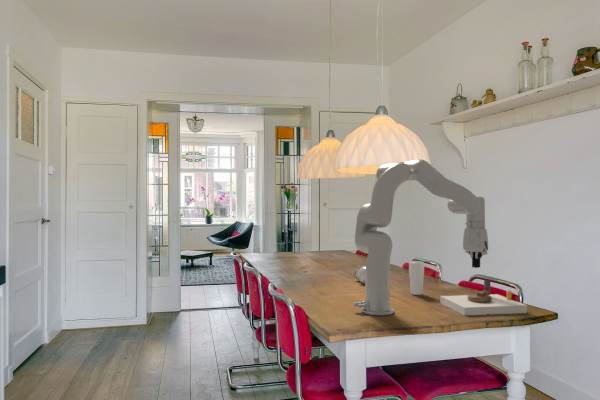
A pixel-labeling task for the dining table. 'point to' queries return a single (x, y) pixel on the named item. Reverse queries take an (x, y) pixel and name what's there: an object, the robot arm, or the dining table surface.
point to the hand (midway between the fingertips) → (476, 267)
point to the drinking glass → (416, 277)
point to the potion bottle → (360, 274)
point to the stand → (484, 305)
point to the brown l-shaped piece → (482, 294)
